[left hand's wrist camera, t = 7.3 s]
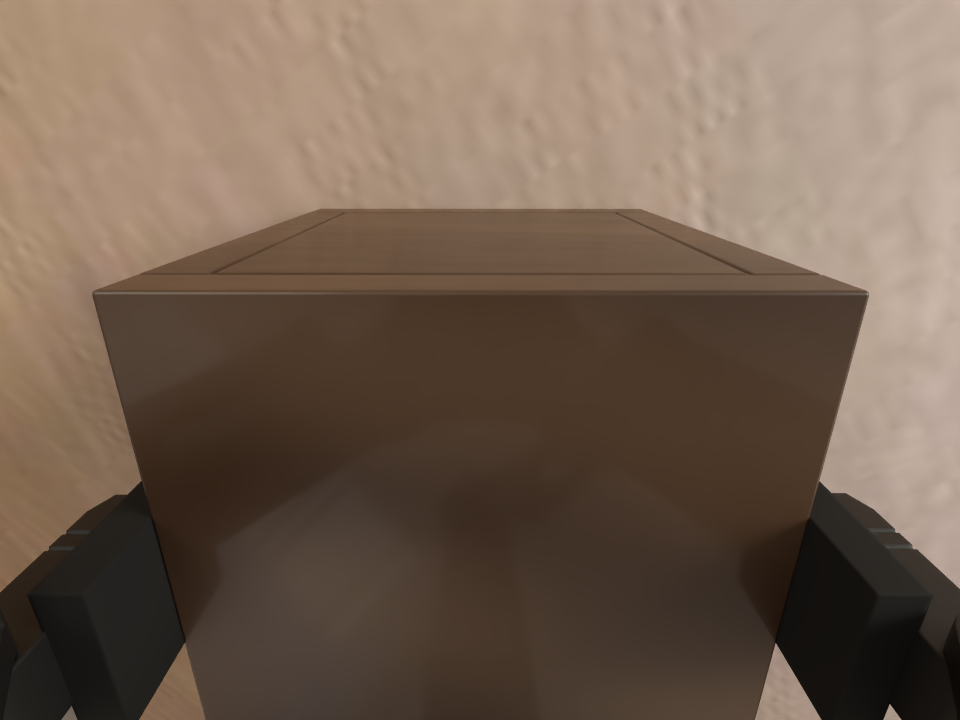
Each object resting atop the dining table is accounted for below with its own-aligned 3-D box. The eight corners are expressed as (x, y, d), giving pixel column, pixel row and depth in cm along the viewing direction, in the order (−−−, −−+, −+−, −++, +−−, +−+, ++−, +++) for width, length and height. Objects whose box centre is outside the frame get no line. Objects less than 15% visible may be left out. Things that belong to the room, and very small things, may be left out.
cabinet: (592, 672, 25) (671, 1034, 15) (367, 671, 25) (288, 1034, 15) (642, 209, 18) (873, 291, 7) (318, 209, 18) (88, 291, 7)
